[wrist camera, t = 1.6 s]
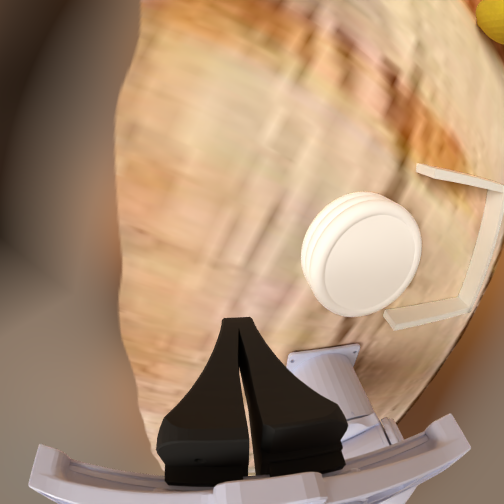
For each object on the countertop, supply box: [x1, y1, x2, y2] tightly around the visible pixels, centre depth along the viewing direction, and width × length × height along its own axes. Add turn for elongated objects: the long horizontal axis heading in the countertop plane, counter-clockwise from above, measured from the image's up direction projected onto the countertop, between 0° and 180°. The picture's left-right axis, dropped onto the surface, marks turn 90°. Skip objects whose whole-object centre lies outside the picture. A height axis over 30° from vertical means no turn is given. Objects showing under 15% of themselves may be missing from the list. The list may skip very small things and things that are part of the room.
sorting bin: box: [383, 163, 504, 331], centre depth 22 cm, size 16×13×2 cm
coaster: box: [301, 191, 422, 317], centre depth 21 cm, size 10×10×4 cm
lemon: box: [476, 0, 504, 45], centre depth 9 cm, size 6×6×8 cm
